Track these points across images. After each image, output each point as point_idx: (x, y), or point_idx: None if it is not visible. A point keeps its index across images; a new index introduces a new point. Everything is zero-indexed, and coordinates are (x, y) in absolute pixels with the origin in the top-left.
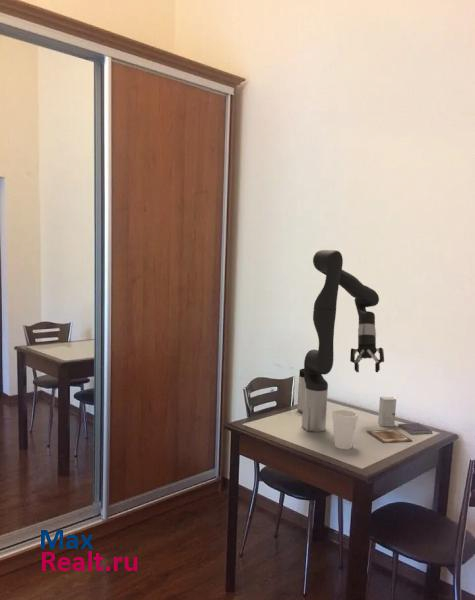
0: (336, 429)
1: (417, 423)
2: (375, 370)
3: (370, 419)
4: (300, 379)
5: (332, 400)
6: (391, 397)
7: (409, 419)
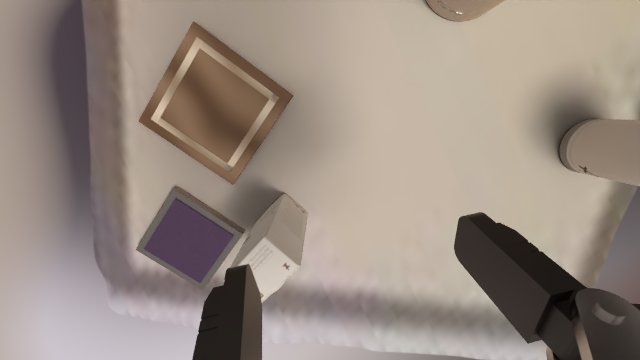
0: None
1: (199, 280)
2: (244, 270)
3: (346, 234)
4: None
5: None
6: None
7: None
